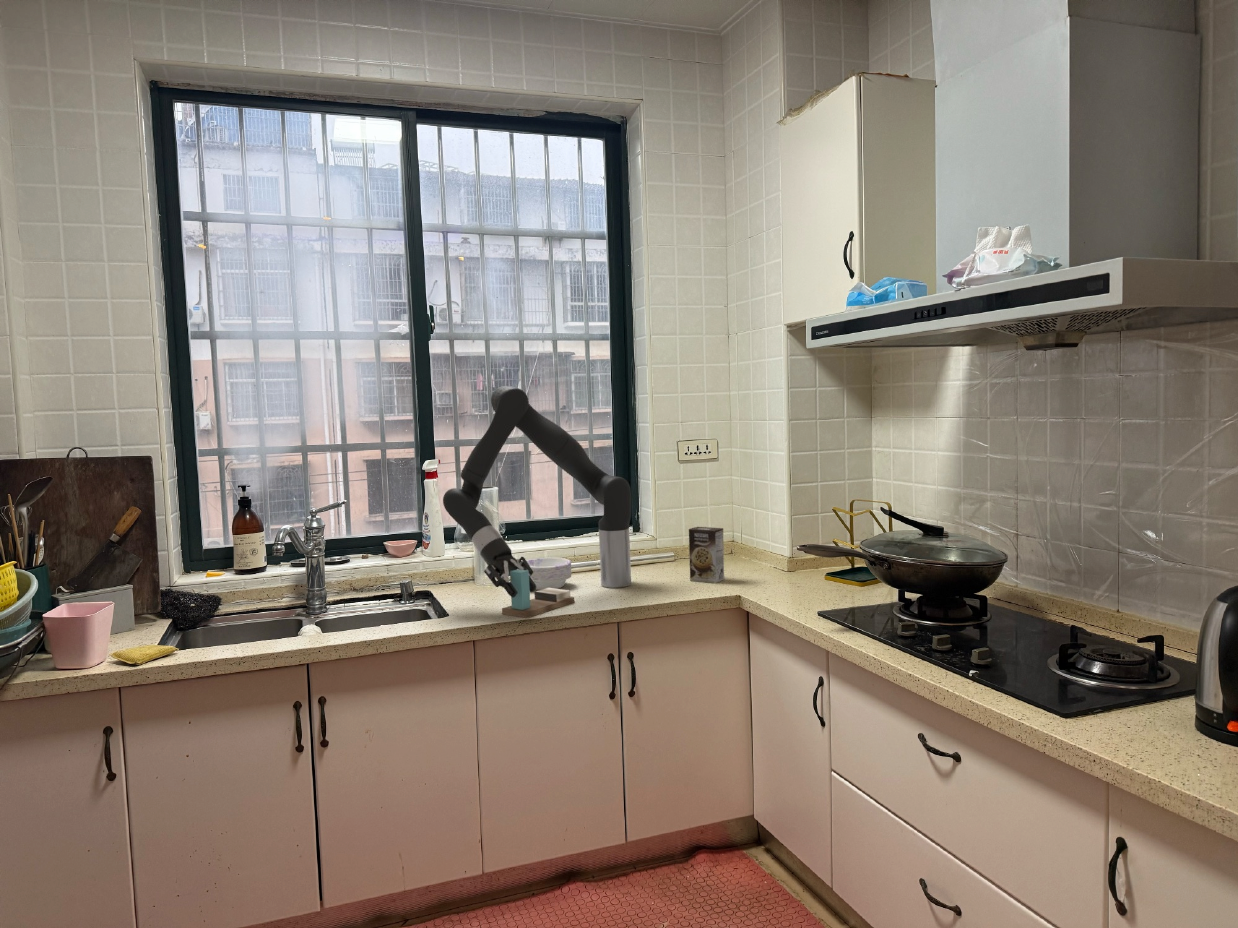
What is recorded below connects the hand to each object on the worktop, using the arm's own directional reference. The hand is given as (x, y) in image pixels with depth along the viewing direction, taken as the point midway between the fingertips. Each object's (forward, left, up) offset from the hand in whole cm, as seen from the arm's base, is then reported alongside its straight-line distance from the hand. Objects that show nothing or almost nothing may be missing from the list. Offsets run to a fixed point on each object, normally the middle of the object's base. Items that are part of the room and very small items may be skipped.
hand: (524, 592), depth 228 cm
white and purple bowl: (-33, +5, -6) cm, 34 cm away
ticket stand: (-7, +4, -6) cm, 10 cm away
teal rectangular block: (-1, -1, -4) cm, 5 cm away
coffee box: (-31, +54, -6) cm, 62 cm away
